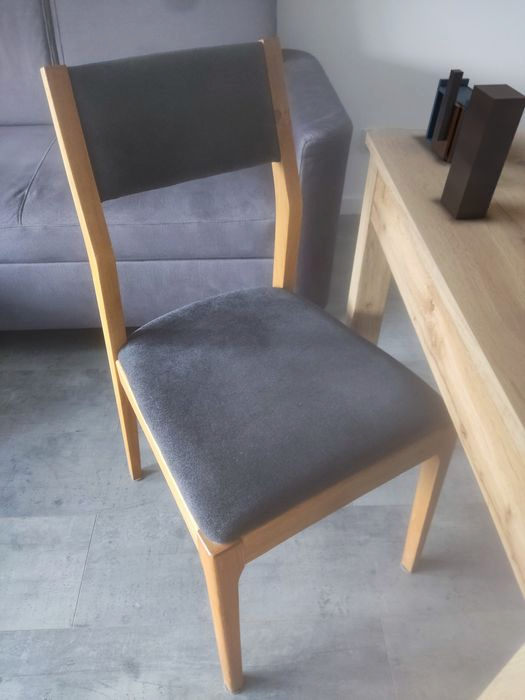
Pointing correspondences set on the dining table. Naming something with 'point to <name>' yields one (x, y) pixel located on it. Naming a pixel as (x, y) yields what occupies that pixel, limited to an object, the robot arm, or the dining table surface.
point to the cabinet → (463, 102)
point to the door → (447, 115)
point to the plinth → (482, 149)
